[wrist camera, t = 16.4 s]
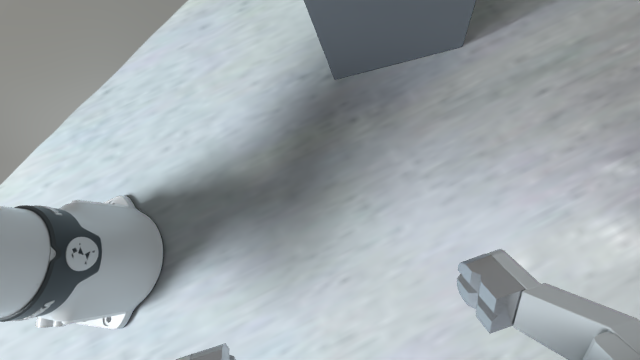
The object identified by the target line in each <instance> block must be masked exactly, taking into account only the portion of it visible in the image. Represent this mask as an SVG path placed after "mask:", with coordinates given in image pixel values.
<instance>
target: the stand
mask: <svg viewBox="0 0 640 360" xmlns="http://www.w3.org/2000/svg"><path fill="white" fill-rule="evenodd" d="M304 2H305V5H306V7H307V10H308V12H309V15H310V18H311V20H312V23H313V25H314V28H315V30H316V33H317V36H318V38H319V41H320V43H321V46H322V48H323V51H324V54H325V56H326V59H327V61H328V64H329V67H330V69H331V72H332V74H333V77H334V79H335V80H336V79H340V78H344V77H348V76H351V75H355V74H359V73H363V72H367V71H371V70H375V69H378V68H382V67H386V66H390V65H394V64H398V63H402V62H405V61H409V60H413V59H417V58H421V57H425V56H429V55H432V54H436V53H440V52H444V51H448V50H452V49H456V48H459V47H462V46H463V43H464V39H465V36H466V33H467V29H468V26H469V22H470V19H471V15H472V12H473V9H474V5H475V2H476V0H304Z"/></svg>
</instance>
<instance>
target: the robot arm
mask: <svg viewBox="0 0 640 360" xmlns="http://www.w3.org/2000/svg"><path fill="white" fill-rule="evenodd" d="M162 261H163V244H162V239H161V235H160V233H159V230H158V228H157V226H156V225H155V223H154V222H153V221H152V220H151V219H150V218H149V217H148V216H147V215H145V214H144V213H142V212H140V211H139V210H137V209H136V208H135V206H134V204H133V203H132V201H131V200H130V198H128V197H127V196H117V197H115V198H113V199H110V200H108V201H106V202H104V203H99V202H90V201H80V200H76V201H72V202H71V203H70V204H66V205H64V206H62V207H61V208H59V209H55V208H51V207H46V206H17V207H14V208H12V207H3V206H0V322H5V321H20V320H26V319H30V318H33V317H37V319H36V324H35V326H36V327H37V328H45V327H60V326H65V325H67V324H73V323H74V324H80V325H87V326H93V327H100V328H106V329H121V328H123V327H124V326H125V325H126V324H127V322H128V320H129V318H130V316H131V314H132V312H133V310H134V309H135V308H136V306H137V305H138V304H139V303H140V302H142V301H143V300H144V299H145V298H146V296H147V295H148V294H149V293H150V291H151V290H152V288H153V287H154V285H155V283H156V281H157V279H158V277H159V274H160V271H161V267H162ZM458 271H459V272H460V273H461V274H460V276H459V277H458V278H457V287H458V290H459V293H460V295H461V297H462V298H463V300H464V301H465V303H466V304H467V305H468V306H470V307H472V308H475V309H476V317H477V318H478V319H479V321H480V322H481V323H482V325H483V326H484V327H485V328H486V330H487V331H488V332H489V333H493V332H496V331H499V330H502V329H504V328H507V327H510V326H513V327H514V328H515V329H517V330H519V331H520V332H522V333H524V334H526V335H527V336H529V337H531V338H532V339H534V340H536V341H537V342H539V343H541V344H542V345H544V346H546V347H548V348H549V349H551V350H553V351H554V352H556V353H558V354H559V355H561V356H563V357H564V358H566V359H568V360H640V321H639V320H638V319H637V318H634V317H632V316H629V315H626V314H624V313H621V312H619V311H616V310H614V309H611V308H608V307H606V306H603V305H601V304H598V303H595V302H593V301H590V300H588V299H585V298H582V297H580V296H577V295H575V294H572V293H570V292H567V291H564V290H562V289H559V288H557V287H554V286H551V285H549V284H546V283H543V284H540V283H539V282H538V281H537V280H536V279H535V278H534V277H532V276H531V275H530V274H529V273H528V272H527V271H526V270H525V269H524V268H523V267H522V266H520V265H519V264H518V263H517V262H516V261H515V260H514V259H513V258H512V257H511V256H509V255H508V254H507V253H506V252H505V251H503V250H501V249H499V250H495V251H493V252H490V253H487V254H483V255H480V256H477V257H474V258H472V259H469V260H466V261H463V262H461V263H460V264H459V265H458ZM176 360H236V359H235V357H234V356H232V355H229V348H228V346H227V345H226V343H225V344H222V345H219V346H215V347H212V348H209V349H206V350H203V351H200V352H197V353H194V354H190V355H188V356H185V357H182V358H179V359H176Z"/></svg>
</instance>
